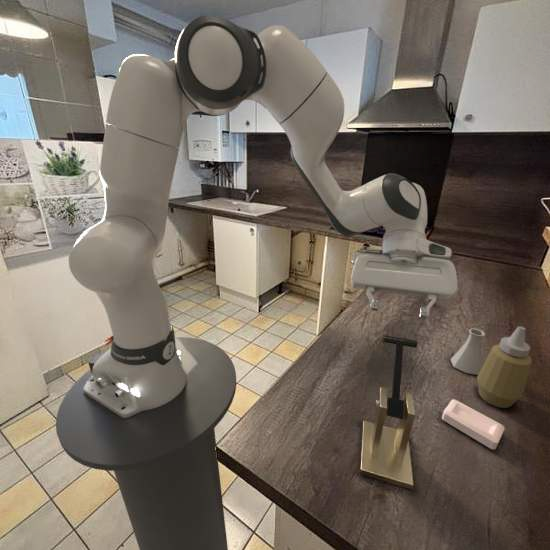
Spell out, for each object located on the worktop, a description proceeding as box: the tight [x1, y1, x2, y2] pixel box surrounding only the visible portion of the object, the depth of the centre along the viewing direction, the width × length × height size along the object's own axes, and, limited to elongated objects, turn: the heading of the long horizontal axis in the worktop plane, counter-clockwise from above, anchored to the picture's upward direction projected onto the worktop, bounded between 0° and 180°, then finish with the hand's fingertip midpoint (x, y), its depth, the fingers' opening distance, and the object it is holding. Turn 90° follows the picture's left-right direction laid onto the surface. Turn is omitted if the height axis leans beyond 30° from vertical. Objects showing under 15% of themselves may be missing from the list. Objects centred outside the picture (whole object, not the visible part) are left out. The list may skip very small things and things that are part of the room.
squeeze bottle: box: [476, 325, 533, 409], centre depth 60 cm, size 8×8×18 cm
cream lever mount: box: [359, 386, 417, 490], centre depth 49 cm, size 10×8×13 cm
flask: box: [449, 327, 486, 376], centre depth 71 cm, size 7×7×10 cm
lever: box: [382, 335, 418, 420], centre depth 49 cm, size 13×6×2 cm
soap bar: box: [441, 398, 506, 450], centre depth 56 cm, size 5×9×2 cm, turn 42°
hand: (398, 313), depth 58 cm, fingers open, 8 cm apart
